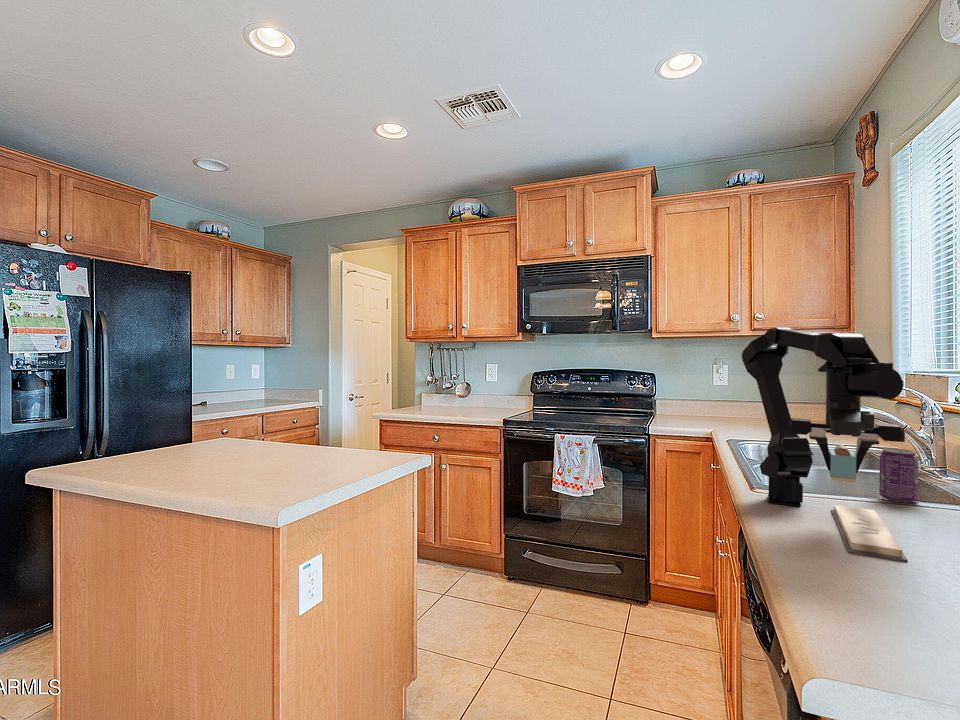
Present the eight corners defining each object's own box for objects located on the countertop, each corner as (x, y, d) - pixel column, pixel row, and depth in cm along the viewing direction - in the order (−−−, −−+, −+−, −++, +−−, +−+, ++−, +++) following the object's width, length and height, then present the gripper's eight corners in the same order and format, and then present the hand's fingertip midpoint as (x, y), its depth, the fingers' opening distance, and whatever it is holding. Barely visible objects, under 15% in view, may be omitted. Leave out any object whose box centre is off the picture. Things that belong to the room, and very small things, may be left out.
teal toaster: (831, 479, 98) (831, 449, 98) (829, 472, 104) (829, 443, 104) (856, 482, 96) (856, 451, 96) (852, 475, 102) (852, 445, 102)
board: (848, 552, 87) (848, 543, 87) (831, 510, 110) (831, 503, 110) (907, 562, 83) (907, 552, 83) (876, 516, 106) (876, 509, 106)
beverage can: (902, 496, 122) (903, 448, 122) (925, 505, 115) (926, 453, 115) (872, 495, 123) (872, 447, 122) (893, 504, 116) (893, 453, 115)
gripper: (788, 395, 98) (787, 473, 98) (911, 400, 88) (910, 487, 88) (789, 392, 108) (788, 463, 108) (899, 396, 98) (899, 474, 98)
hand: (842, 471), depth 100 cm, fingers closed on teal toaster, 4 cm apart
